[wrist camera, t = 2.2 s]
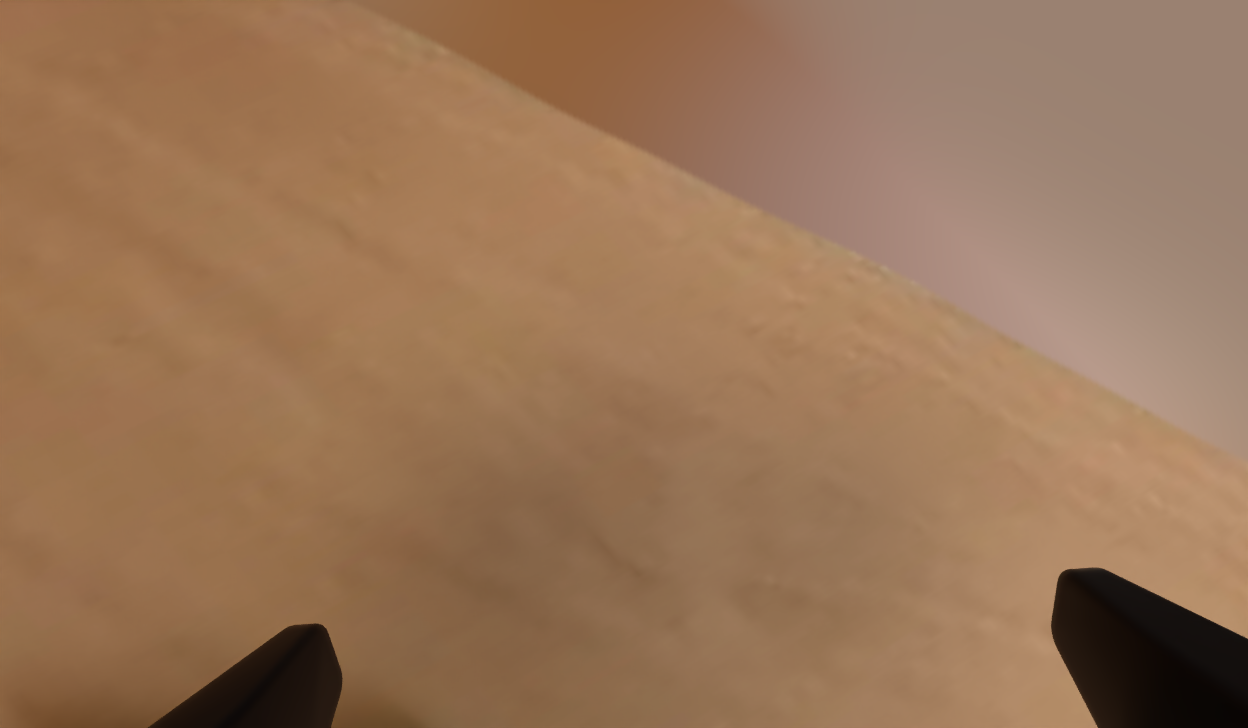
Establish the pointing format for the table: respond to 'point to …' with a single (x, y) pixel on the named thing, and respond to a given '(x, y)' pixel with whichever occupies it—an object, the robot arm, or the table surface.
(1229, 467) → the table surface
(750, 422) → the table surface
